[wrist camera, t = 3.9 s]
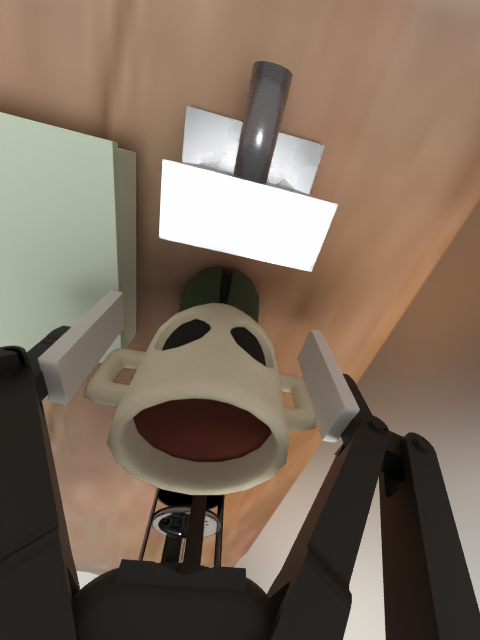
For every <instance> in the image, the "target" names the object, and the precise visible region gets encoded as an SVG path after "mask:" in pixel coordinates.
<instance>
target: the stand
mask: <svg viewBox="0 0 480 640" xmlns="http://www.w3.org/2000/svg"><path fill="white" fill-rule="evenodd" d="M111 290H112V291H117V292H123V302H124V328H123V330H122V331H121V332H120V334H119V335H118V337H117V338H116V339H115V341H114V342H113V343H112V345H111V346H110V347H109V349H108V350H107V351H106V353H105V354H104V356H103V357H102V358H101V360H100V361H99V362H98V363H103V361H104V360H105V359H106V357H107V356H108V354H109V353H111V352H112V351H113V350H115V349H127V348H128V346H129V344H130V343H131V341H132V340H133V338H134V337H135V335H136V152H133V151H129V150H125V149H122V148H118V143H117V142H114V141H110V140H106V139H102V138H98V137H94V136H91V135H87V134H83V133H79V132H75V131H72V130H68V129H64V128H60V127H56V126H52V125H49V124H45V123H41V122H37V121H33V120H29V119H26V118H22V117H18V116H14V115H10V114H6V113H3V112H0V347H3V346H20V347H22V348H24V349H25V350H26V351H27V352H28V351H29V350H30V349H31V348H33V347H34V346H35V345H36V344H37V343H40V341H41V340H42V339H43V338H44V337H46V336H47V335H48V334H49V333H50V332H51V331H52V330H54V329H56V328H59V327H61V326H63V325H64V326H70V327H72V326H73V325H74V324H75V323H76V322H77V321H79V320H80V319H81V318H82V317H83V316H84V315H85V314H86V313H87V312H88V311H89V310H90V309H91V308H92V307H94V306H95V305H96V304H97V303H98V302H99V301H100V300H101V299H102V298H103V297H104V296H105V295H106V294H107V293H109V292H110V291H111Z"/></svg>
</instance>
